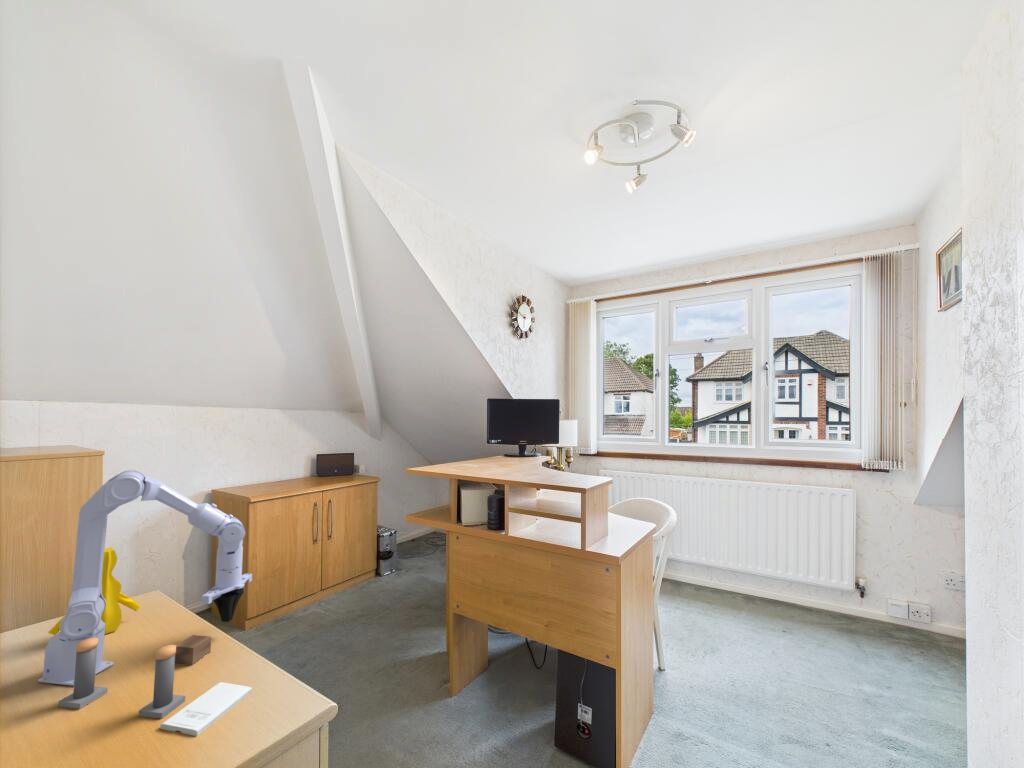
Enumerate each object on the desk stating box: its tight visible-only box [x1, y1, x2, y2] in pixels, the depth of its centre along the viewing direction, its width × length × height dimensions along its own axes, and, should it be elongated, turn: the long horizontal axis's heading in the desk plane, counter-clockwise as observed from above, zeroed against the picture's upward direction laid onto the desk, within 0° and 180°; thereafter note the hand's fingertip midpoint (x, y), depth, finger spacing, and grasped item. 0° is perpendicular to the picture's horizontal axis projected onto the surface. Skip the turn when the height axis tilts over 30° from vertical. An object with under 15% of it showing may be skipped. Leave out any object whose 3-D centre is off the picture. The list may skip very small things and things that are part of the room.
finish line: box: [57, 638, 186, 719], centre depth 86 cm, size 23×5×11 cm, turn 83°
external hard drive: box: [159, 681, 253, 737], centre depth 84 cm, size 2×8×12 cm
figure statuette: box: [47, 547, 141, 636], centre depth 112 cm, size 18×8×22 cm, turn 147°
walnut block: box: [175, 634, 212, 666], centre depth 101 cm, size 5×5×4 cm
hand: (226, 620), depth 111 cm, fingers closed
